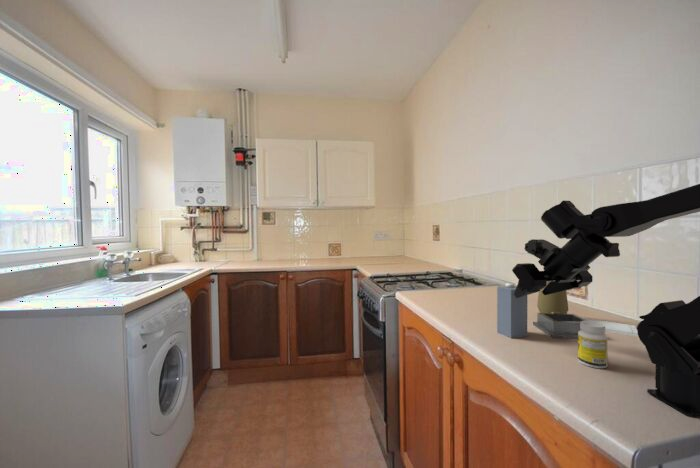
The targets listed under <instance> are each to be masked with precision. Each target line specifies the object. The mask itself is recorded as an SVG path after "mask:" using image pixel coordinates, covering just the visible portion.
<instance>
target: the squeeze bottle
mask: <svg viewBox="0 0 700 468" xmlns="http://www.w3.org/2000/svg"><path fill="white" fill-rule="evenodd" d="M549 283H550V282H546V286H547V285H548V284H549ZM546 286H545V287H546ZM545 287H544V288H545ZM544 288H543V289H540V291H539V292H538V296H537V304H536V305H537V309H538V313H552V312H560V313H563V314H568V312H569V303H568V293H567V290H566V291H562V292H557V293H553V294H549V295H544V294H543V293H542V291H543V290H544Z"/></svg>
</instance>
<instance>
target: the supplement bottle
mask: <svg viewBox="0 0 700 468" xmlns="http://www.w3.org/2000/svg"><path fill="white" fill-rule="evenodd" d="M580 329H581V330H580V331H579V332H578V339H577V358H578V359H577V361H578V362H579V363H580V364H581V365H584V366H587V367H590V368H592V369H593V368H595V369H606V368H607V367H608V338H609V337H608V336H607V335H606V331H605V325H603V324H601V323H598V322H593V321H581V322H580Z"/></svg>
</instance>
